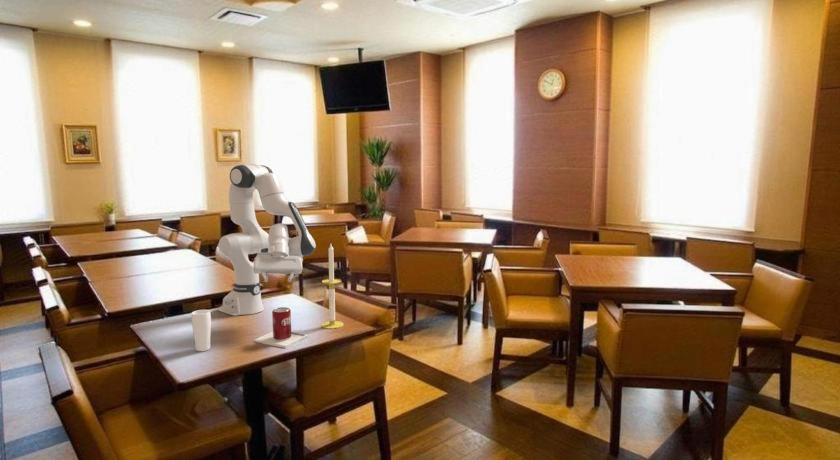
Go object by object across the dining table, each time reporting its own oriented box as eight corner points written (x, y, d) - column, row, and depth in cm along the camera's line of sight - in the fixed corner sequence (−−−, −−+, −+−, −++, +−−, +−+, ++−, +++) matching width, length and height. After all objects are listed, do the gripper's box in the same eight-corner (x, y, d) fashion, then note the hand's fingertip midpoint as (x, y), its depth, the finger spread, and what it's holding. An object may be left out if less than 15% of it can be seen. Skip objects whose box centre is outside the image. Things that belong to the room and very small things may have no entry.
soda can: (269, 340, 196) (268, 311, 194) (277, 334, 203) (276, 306, 201) (286, 341, 195) (285, 312, 193) (294, 335, 202) (293, 307, 200)
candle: (337, 320, 225) (335, 240, 220) (347, 326, 217) (346, 243, 212) (317, 324, 219) (315, 242, 214) (327, 330, 211) (325, 245, 206)
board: (254, 341, 197) (254, 339, 197) (278, 331, 210) (278, 328, 209) (285, 348, 190) (285, 345, 190) (308, 337, 203) (308, 334, 203)
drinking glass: (205, 353, 185) (203, 315, 183) (189, 352, 186) (187, 314, 184) (216, 347, 191) (214, 310, 189) (200, 345, 193) (198, 308, 191)
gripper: (302, 259, 218) (302, 285, 210) (253, 258, 212) (252, 284, 204) (303, 250, 214) (304, 277, 205) (254, 249, 207) (252, 276, 199)
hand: (278, 281), depth 204 cm, fingers open, 8 cm apart
